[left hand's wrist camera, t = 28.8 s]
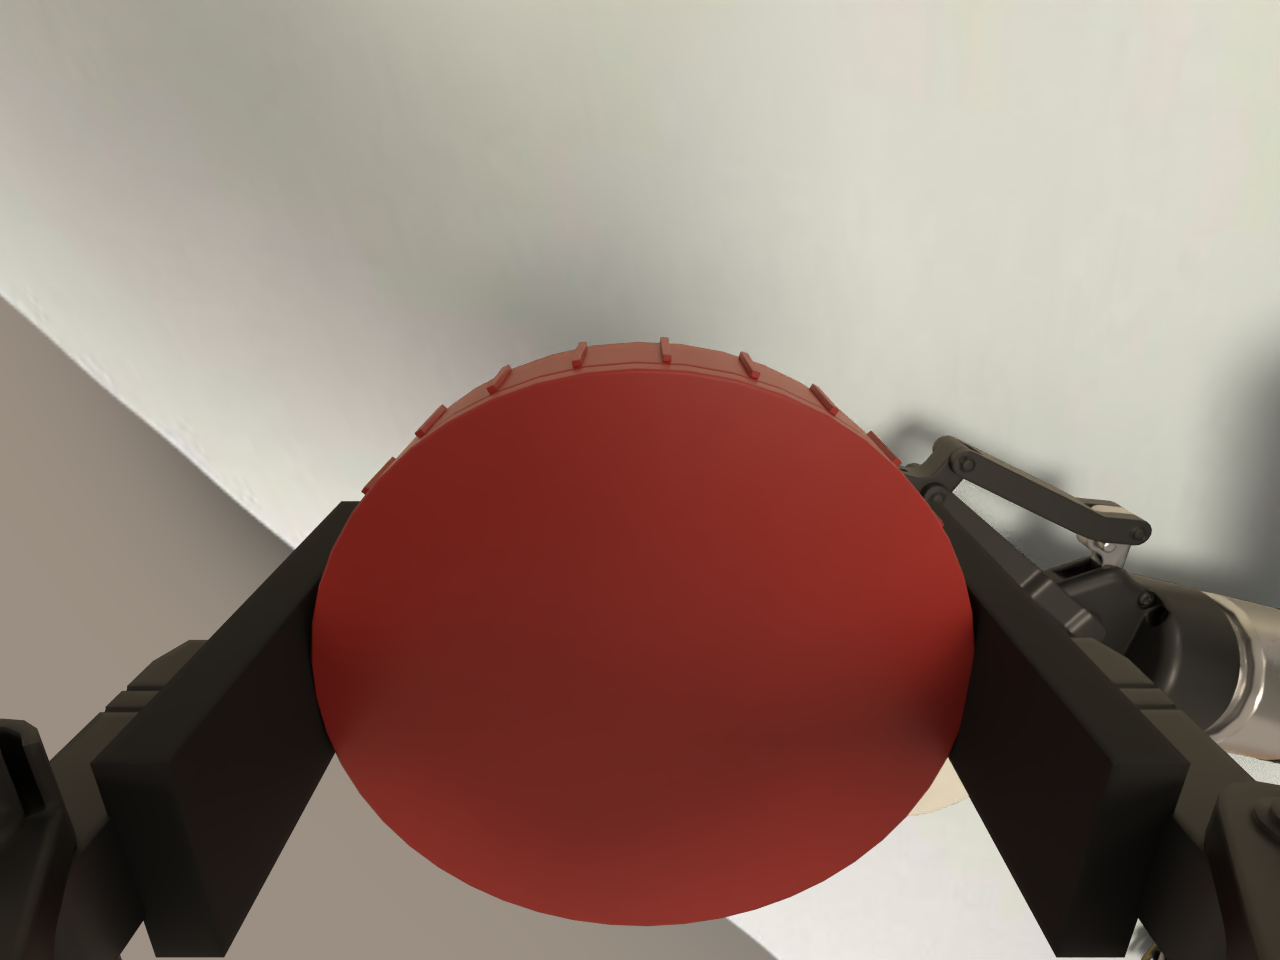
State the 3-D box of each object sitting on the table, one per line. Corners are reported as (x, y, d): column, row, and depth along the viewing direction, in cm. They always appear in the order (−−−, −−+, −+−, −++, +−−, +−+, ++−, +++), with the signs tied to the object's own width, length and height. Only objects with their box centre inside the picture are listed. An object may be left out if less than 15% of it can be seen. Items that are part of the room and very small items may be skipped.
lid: (226, 537, 11) (157, 594, 10) (767, 202, 10) (792, 205, 8) (558, 910, 14) (547, 1002, 13) (1020, 706, 13) (1076, 781, 11)
